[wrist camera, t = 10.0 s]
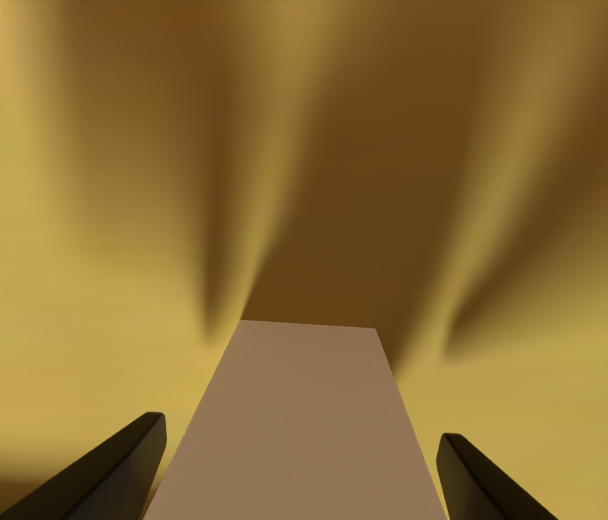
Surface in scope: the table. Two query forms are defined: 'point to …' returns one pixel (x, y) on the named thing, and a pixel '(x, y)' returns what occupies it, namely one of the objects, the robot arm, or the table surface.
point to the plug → (299, 434)
